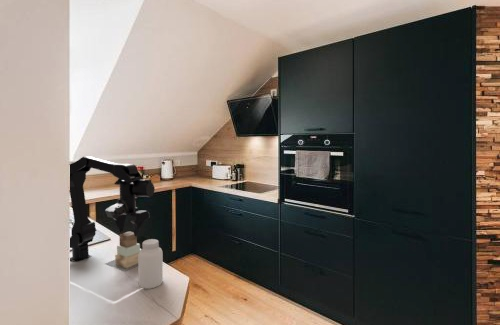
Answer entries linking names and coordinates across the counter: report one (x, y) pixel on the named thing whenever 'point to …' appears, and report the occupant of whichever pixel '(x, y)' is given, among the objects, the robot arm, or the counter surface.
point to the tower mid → (128, 250)
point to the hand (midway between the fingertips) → (128, 234)
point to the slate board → (112, 263)
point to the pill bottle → (150, 264)
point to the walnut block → (128, 239)
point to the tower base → (126, 260)
